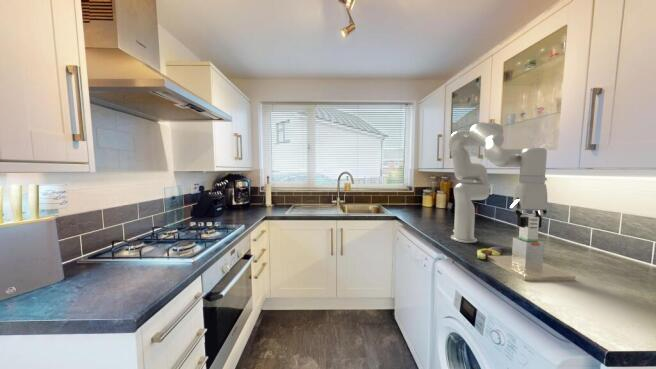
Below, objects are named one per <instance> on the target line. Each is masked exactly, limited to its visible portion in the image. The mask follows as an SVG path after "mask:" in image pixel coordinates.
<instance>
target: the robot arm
mask: <svg viewBox="0 0 656 369" xmlns="http://www.w3.org/2000/svg"><path fill="white" fill-rule="evenodd" d="M503 134H504V128H503V126H502V125H501V124H500V123H496V122H478V123H474V124H473V125H472V126H470V129H469V130H468V129H467V130H465V129H464V130H463V129H461V130H455V131H454V132H453V133H451V134H450V137H449V139H448V147H449V152H450V154H451V157H452V164H453V165H452V166H453V171H454V177H455V179H456V180H459V181H467V182H459V183H457V184H455V186H454V187H453V196H454V224H453V227H454V228H453V230H452V232H453V234H451V235H450V239H451V240H453V241H456V242H459V243H465V244H466V243H467V244H473V243H477V242H478V239H477V238H476V237H474V236H475V220H476V219H475V217H476V214H475V213H476V208H475V205H474V203H473V202H472V201H483V200H486V199H488V198H489V196H490V192H491V191H490V184H489V183H490V182H489V177H488V171H487V168H486V166H484V165H483V164H481V163H472V162H471V155H470V153H469V152H468V149H466V148H465V147H481V146H482V147H483V154H484V156H485V158H486V159H487V160H488V161H489V162H490V163H492V164H493V165H494V166H496V167H500V168H519V182H518V183H516V185H515V189H514V192H513V199H512V204H511V205H510V206H509V209H510V210H511V211H512V212H513V213H514V214H515V216H516V217H517V218H516V220H517V221H516V226H517V227H519V228H520V227H522V228H525V223H526V218H525V217H524V216H525V215H526V213H527V211H533V213H534V216H536V217H539V228H538V229H541V228H542V224H543V223H542V220H543V218H544V217H545V215H546V214H547V212H549V211H550V210H551V208H552V207H551V206H550V205H549V203H548V188H547V184H546V181H548V179H547V177H546V169H547V156H548V155H547V154H548V151H547V149H546V148H544V147H528V148H503V147H502V145H503V144H504V142H505V136H504V135H503ZM468 181H471V182H468ZM472 181H473V182H472Z"/></svg>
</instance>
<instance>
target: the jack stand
mask: <svg viewBox="0 0 656 369" xmlns="http://www.w3.org/2000/svg"><path fill="white" fill-rule="evenodd" d="M511 247H512V249H511V255H500V256H487V258H486V260H488V261H489V262H491V263H493V264H495V265H496V266H498V267H500V268H502V269H503V270H505V271H507V272H508V273H511V274H512V275H514V276H516V277H517V278H518V279H521V280H522V281H525V282H526V281H527V282H528V281H529V282H531V281H533V282H534V281H536V282H542V281H543V282H545V281H547V282H550V281H552V282H553V281H554V282H555V281H557V282H559V281H560V282H562V281H563V282H565V281H566V282H569V281H570V282H573V281H576V276H575V275H573V274H571V273H568V272H566V271H563V270H562V269H559V268H556V267H555V266H552V265H550V264H548V263H545V262H544V248H545V242H543V241H539V240H538V242H525V241H523V240H520V239H519V237H512V246H511Z"/></svg>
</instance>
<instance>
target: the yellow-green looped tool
mask: <svg viewBox="0 0 656 369" xmlns="http://www.w3.org/2000/svg"><path fill="white" fill-rule="evenodd" d="M508 248H509V249H510V247H509V246H492V247H489V248H481V249H477V251H476V254H477V256H476V257H477V258H478V259H481V260H487V256H501V254H502V252H503V251H502V250H503V249H508Z"/></svg>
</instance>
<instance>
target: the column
mask: <svg viewBox="0 0 656 369" xmlns="http://www.w3.org/2000/svg"><path fill="white" fill-rule="evenodd" d="M524 217H525V218H526V223H525V228H522V227H519V228H518V229H519V231H518V238H519V239H520V240H523V241H525V242H538V241H539V229H540V228H539V217H536V216H535V215H531V214H525V216H524Z"/></svg>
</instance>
